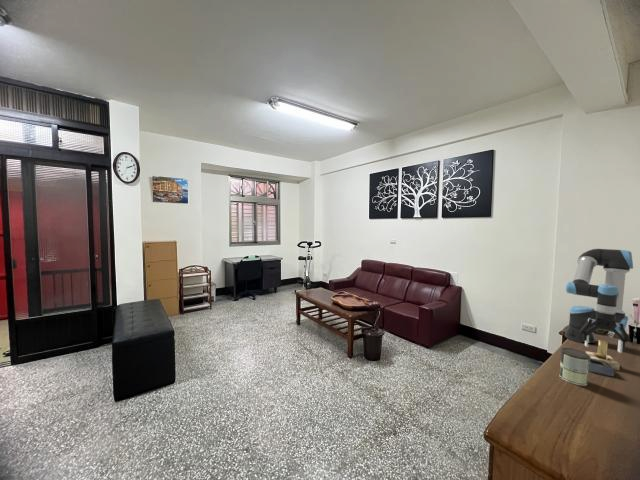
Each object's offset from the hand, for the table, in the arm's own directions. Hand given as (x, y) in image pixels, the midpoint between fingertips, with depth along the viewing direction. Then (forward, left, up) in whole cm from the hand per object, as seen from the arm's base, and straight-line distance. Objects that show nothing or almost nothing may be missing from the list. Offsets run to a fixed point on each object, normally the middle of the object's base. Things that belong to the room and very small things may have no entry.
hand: (602, 349), depth 149 cm
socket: (+12, -6, -8) cm, 16 cm away
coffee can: (+33, -21, -8) cm, 40 cm away
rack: (0, 0, -8) cm, 8 cm away
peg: (0, 0, -8) cm, 8 cm away
